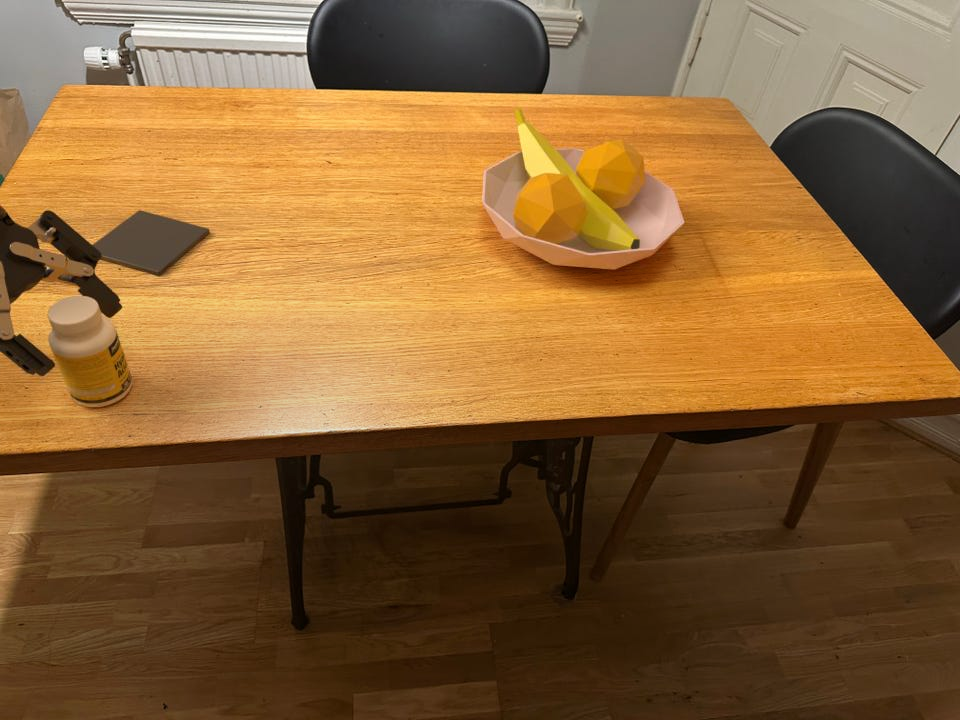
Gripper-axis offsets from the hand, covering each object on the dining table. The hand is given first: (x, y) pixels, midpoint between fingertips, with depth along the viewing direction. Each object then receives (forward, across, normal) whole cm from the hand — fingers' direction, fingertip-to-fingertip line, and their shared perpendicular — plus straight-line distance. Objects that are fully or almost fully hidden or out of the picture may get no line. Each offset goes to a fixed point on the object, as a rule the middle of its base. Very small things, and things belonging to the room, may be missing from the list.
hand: (84, 340), depth 63 cm
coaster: (-3, +22, +12) cm, 25 cm away
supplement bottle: (+4, 0, +4) cm, 6 cm away
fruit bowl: (+30, +48, -21) cm, 60 cm away
